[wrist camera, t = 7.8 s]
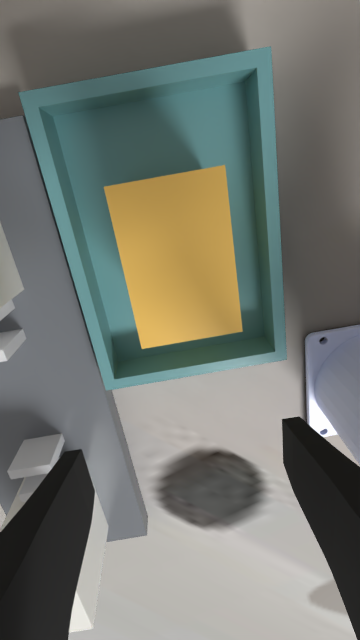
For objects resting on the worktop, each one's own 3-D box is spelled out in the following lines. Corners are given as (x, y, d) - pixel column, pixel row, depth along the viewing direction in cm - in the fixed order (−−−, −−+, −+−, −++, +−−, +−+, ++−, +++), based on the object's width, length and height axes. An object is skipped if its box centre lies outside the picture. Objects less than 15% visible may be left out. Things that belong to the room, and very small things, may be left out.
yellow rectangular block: (203, 170, 17) (225, 164, 11) (218, 287, 19) (242, 331, 13) (122, 185, 17) (103, 186, 11) (147, 300, 19) (141, 349, 13)
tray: (252, 68, 16) (271, 46, 13) (271, 337, 21) (286, 359, 18) (41, 107, 16) (18, 92, 13) (112, 365, 21) (106, 390, 19)
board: (34, 121, 16) (-4, 102, 12) (147, 516, 26) (145, 571, 23) (-151, 154, 16) (-244, 146, 12) (33, 535, 26) (12, 593, 23)
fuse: (86, 464, 22) (61, 558, 17) (108, 526, 24) (93, 628, 19) (25, 474, 22) (-20, 571, 17) (53, 536, 24) (22, 640, 19)
